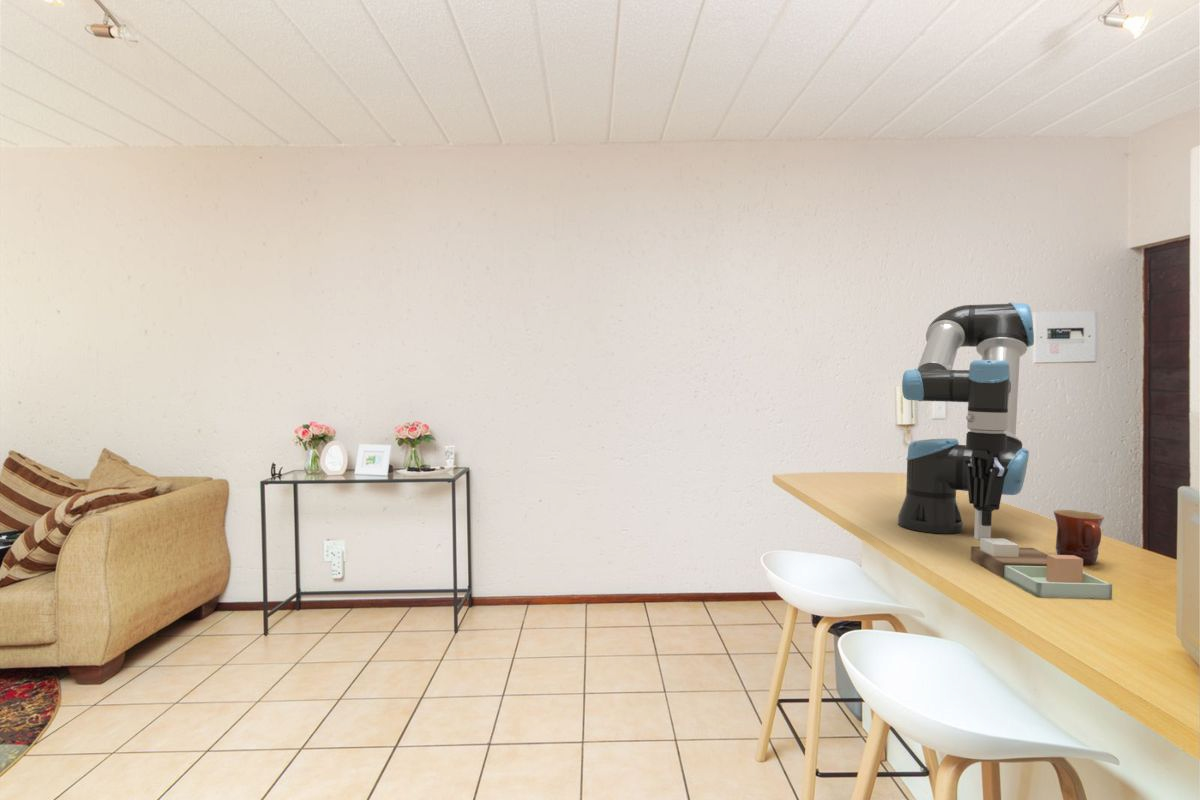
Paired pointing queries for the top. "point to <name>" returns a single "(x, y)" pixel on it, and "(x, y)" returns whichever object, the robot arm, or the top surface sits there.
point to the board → (1008, 559)
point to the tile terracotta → (1064, 568)
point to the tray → (1056, 584)
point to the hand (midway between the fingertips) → (982, 539)
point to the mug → (1078, 534)
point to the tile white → (999, 547)
